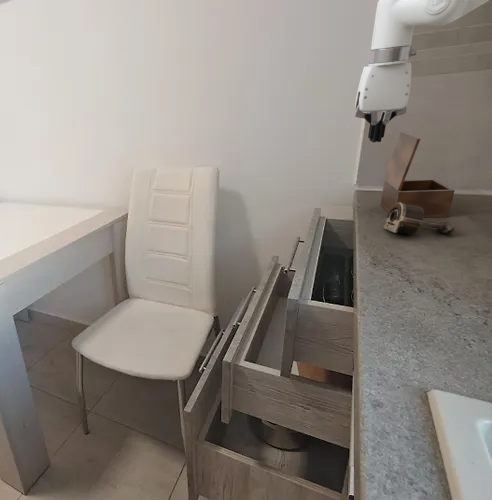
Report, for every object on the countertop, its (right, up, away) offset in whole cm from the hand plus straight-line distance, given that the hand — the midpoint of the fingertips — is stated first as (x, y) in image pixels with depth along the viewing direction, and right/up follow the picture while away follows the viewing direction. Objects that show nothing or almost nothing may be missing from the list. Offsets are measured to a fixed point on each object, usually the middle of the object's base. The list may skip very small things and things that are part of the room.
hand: (375, 141), depth 90 cm
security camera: (+4, -23, -8) cm, 25 cm away
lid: (+7, -5, 0) cm, 8 cm away
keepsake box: (+12, -17, +4) cm, 21 cm away
